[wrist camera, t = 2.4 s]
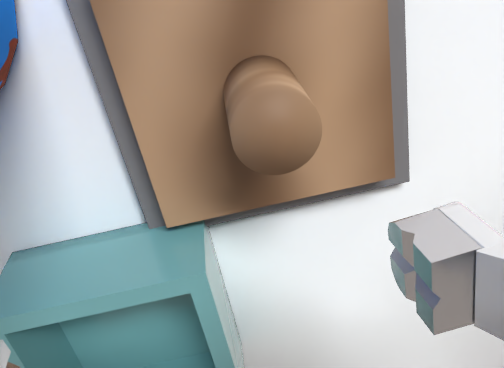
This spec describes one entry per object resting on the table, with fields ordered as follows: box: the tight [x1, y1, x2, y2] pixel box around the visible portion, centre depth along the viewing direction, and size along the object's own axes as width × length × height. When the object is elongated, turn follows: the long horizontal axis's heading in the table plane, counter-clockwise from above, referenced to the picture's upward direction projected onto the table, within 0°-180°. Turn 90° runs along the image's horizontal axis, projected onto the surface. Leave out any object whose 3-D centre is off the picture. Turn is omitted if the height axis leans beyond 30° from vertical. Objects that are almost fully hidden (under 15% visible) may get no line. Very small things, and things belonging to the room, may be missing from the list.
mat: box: [66, 0, 409, 229], centre depth 19 cm, size 12×12×1 cm
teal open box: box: [0, 220, 244, 368], centre depth 22 cm, size 9×9×4 cm
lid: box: [90, 0, 395, 228], centre depth 17 cm, size 10×10×5 cm
